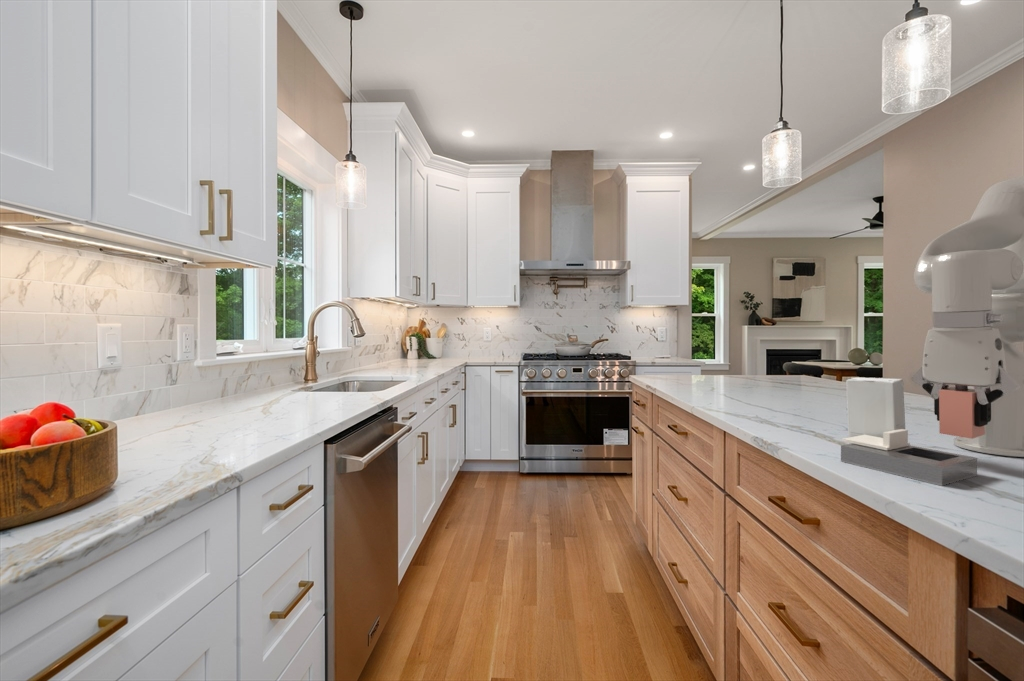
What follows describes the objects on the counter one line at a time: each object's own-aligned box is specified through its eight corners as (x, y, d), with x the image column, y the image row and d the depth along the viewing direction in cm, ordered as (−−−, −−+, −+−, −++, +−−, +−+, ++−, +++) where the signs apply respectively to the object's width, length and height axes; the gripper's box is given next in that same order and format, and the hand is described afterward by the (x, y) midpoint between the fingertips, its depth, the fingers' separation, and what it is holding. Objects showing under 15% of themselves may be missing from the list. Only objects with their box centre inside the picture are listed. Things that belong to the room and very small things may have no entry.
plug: (952, 429, 85) (951, 376, 84) (984, 434, 81) (984, 378, 80) (939, 433, 83) (939, 379, 83) (972, 438, 79) (972, 381, 79)
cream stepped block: (864, 437, 92) (865, 422, 92) (909, 445, 85) (910, 429, 85) (842, 441, 89) (842, 425, 89) (887, 450, 82) (887, 433, 82)
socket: (876, 453, 91) (876, 438, 91) (977, 475, 77) (977, 457, 77) (840, 461, 86) (840, 445, 86) (941, 485, 72) (942, 467, 72)
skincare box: (906, 452, 91) (907, 379, 91) (895, 457, 88) (896, 381, 88) (857, 444, 98) (857, 375, 98) (845, 448, 95) (845, 377, 95)
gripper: (1039, 319, 75) (1039, 428, 76) (914, 320, 90) (915, 411, 91) (1019, 322, 72) (1019, 436, 73) (893, 323, 87) (894, 417, 88)
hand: (961, 421), depth 82 cm, fingers closed on plug, 4 cm apart
